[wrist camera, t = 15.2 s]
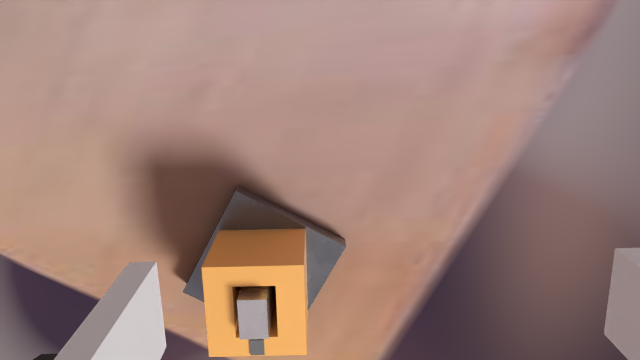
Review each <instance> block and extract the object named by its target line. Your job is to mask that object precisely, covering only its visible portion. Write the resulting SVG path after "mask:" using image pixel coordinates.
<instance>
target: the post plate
mask: <svg viewBox="0 0 640 360" xmlns="http://www.w3.org/2000/svg"><path fill="white" fill-rule="evenodd" d="M305 228H306V263H307V298H308V309H309V308H310V306H311V304H312V303H313V301H314V299H315V298H316V296H317V294H318V293H319V291H320V289H321V287H322V286H323V284H324V282H325V281H326V279H327V277H328V276H329V274H330V272H331V271H332V269H333V267H334V266H335V264H336V262H337V261H338V259H339V257H340V256H341V254H342V252H343V251H344V249H345V247H346V244H345V239H343V238H341V237H339V236H337V235H335V234H333V233H331V232H329V231H327V230H325V229H323V228H321V227H319V226H317V225H315V224H313V223H311V222H309V221H307V220H305V219H303V218H301V217H299V216H297V215H295V214H293V213H291V212H289V211H287V210H285V209H283V208H281V207H280V206H278V205H276V204H274V203H272V202H270V201H268V200H266V199H264V198H262V197H260V196H258V195H256V194H254V193H252V192H250V191H248V190H246V189H244V188H242V187H240V186H238V187H237V189H236V191H235V192H234V194H233V196H232V198H231V200H230V202H229V204H228V206H227V208H226V210H225V212H224V213H223V215H222V217H221V219H220V221H219V223H218V225H217V227H216V229H215V231H214V233H213V235H212V236H211V238H210V240H209V242H208V244H207V246H206V248H205V250H204V252H203V254H202V256H201V257H200V259H199V261H198V263H197V265H196V267H195V269H194V271H193V273H192V275H191V277H190V279H189V280H188V282H187V284H186V286H185V288H184V290H183V292H184V293H186V294H188V295H190V296H192V297H195V298H197V299H199V300H201V301H203V302H204V291H203V279H202V265H203V263H204V261H205V259H206V257H207V255H208V252H209V250H210V248H211V246H212V244H213V242H214V240H215V237H216V235H217V233H218V231H219V230H260V229H305ZM275 292H276V286H242V287H240V291H239V295H238V298H237V310H238V323H239V336H240V340H245V339H269V333H270V326H271V320H272V313H273V306H274V299H275Z"/></svg>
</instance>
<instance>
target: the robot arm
mask: <svg viewBox="0 0 640 360" xmlns="http://www.w3.org/2000/svg"><path fill="white" fill-rule="evenodd" d="M604 334H605V335H606V336H607V337H608V338H609V339H610V341H611V342H612V343H613V344H614V345H615V346H616V347H617V348H618V349H619V350H620V351H621V352H622V353H623V355H624V356H626V358H627V359H628V360H640V248H620V249H619V248H617V249H615V254H614V261H613V269H612V277H611V285H610V292H609V300H608V308H607V315H606V323H605V331H604ZM165 348H166V339H165V331H164V322H163V314H162V305H161V297H160V288H159V280H158V271H157V263H156V262H129V264H128V265H127V266H126V268H125V269H124V270H123V271H122V273H121V274H120V275H119V277H118V278H117V279H116V280H115V282H114V283H113V284H112V286H111V287H110V288H109V289H108V291H107V292H106V293H105V295H104V296H103V297H102V298H101V300H100V301H99V302H98V304H97V305H96V306H95V308H94V309H93V310H92V311H91V313H90V314H89V315H88V316H87V318H86V319H85V320H84V322H83V323H82V324H81V326H80V327H79V328H78V329H77V330H76V332H75V333H74V334H73V336H72V337H71V338H70V340H69V341H68V342H67V343H66V345H65V346H64V347H63V349H62V350H61V351H60V352H59V354H41V355H39V356H38V357H37V358H35V359H34V360H160V359H161V357H162V355H163V352H164V350H165Z"/></svg>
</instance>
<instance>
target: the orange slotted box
mask: <svg viewBox="0 0 640 360" xmlns="http://www.w3.org/2000/svg"><path fill="white" fill-rule="evenodd" d="M202 279H203V291H204V302H205V314H206V326H207V337H208V349H209V357H226V356H270V355H307V317H308V298H307V263H306V228H305V229H260V230H219V231H218V233H217V235H216V237H215V240H214V242H213V244H212V246H211V248H210V250H209V252H208V255H207V257H206V259H205V261H204V263H203V265H202ZM242 286H276V292H275V299H274V306H273V313H272V320H271V326H270V333H269V339H245V340H240V336H239V323H238V310H237V298H238V295H239V291H240V287H242Z"/></svg>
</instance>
